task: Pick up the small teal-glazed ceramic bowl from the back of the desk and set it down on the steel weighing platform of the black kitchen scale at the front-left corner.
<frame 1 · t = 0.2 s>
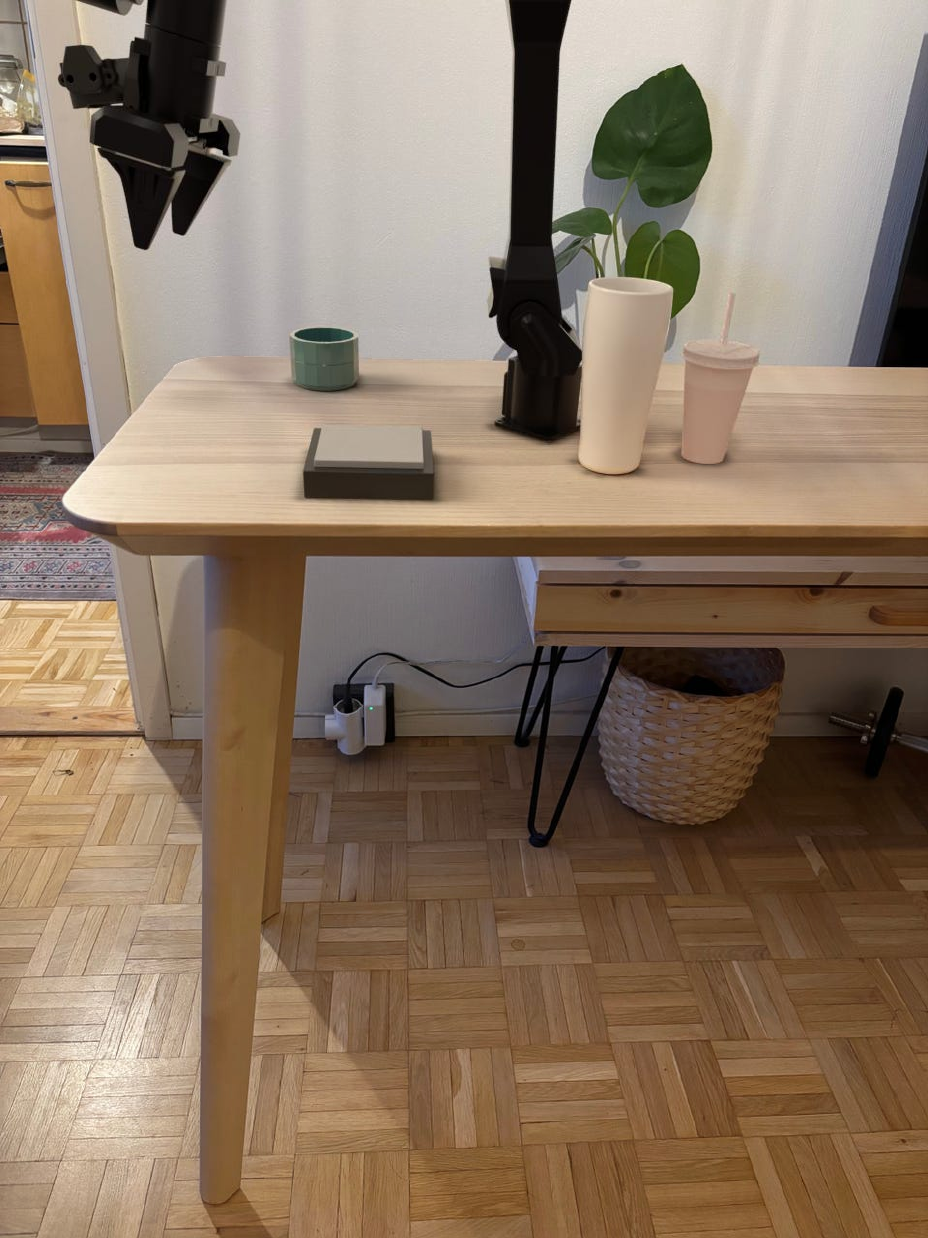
hand: (160, 240, 80), 15 cm above the table, tool pointing down, fingers open, 9 cm apart
smoothie: (701, 458, 83), on the table
scale: (371, 474, 76), on the table
white tumbler: (607, 467, 80), on the table
bowl: (325, 382, 98), on the table
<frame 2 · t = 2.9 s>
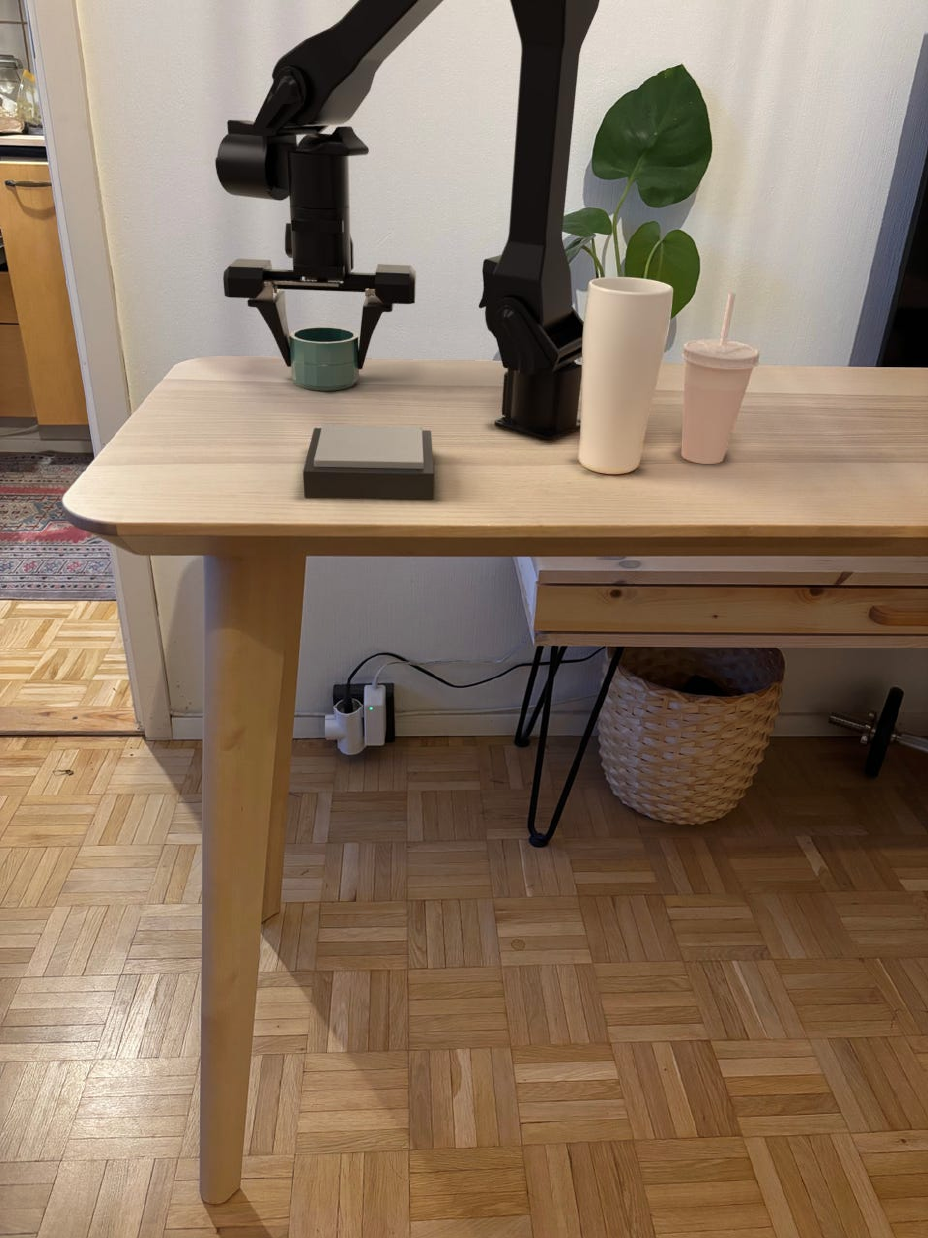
hand: (325, 366, 97), 2 cm above the table, tool pointing down, fingers closed on bowl, 7 cm apart
bowl: (325, 382, 98), on the table, touching gripper
everything else where it was.
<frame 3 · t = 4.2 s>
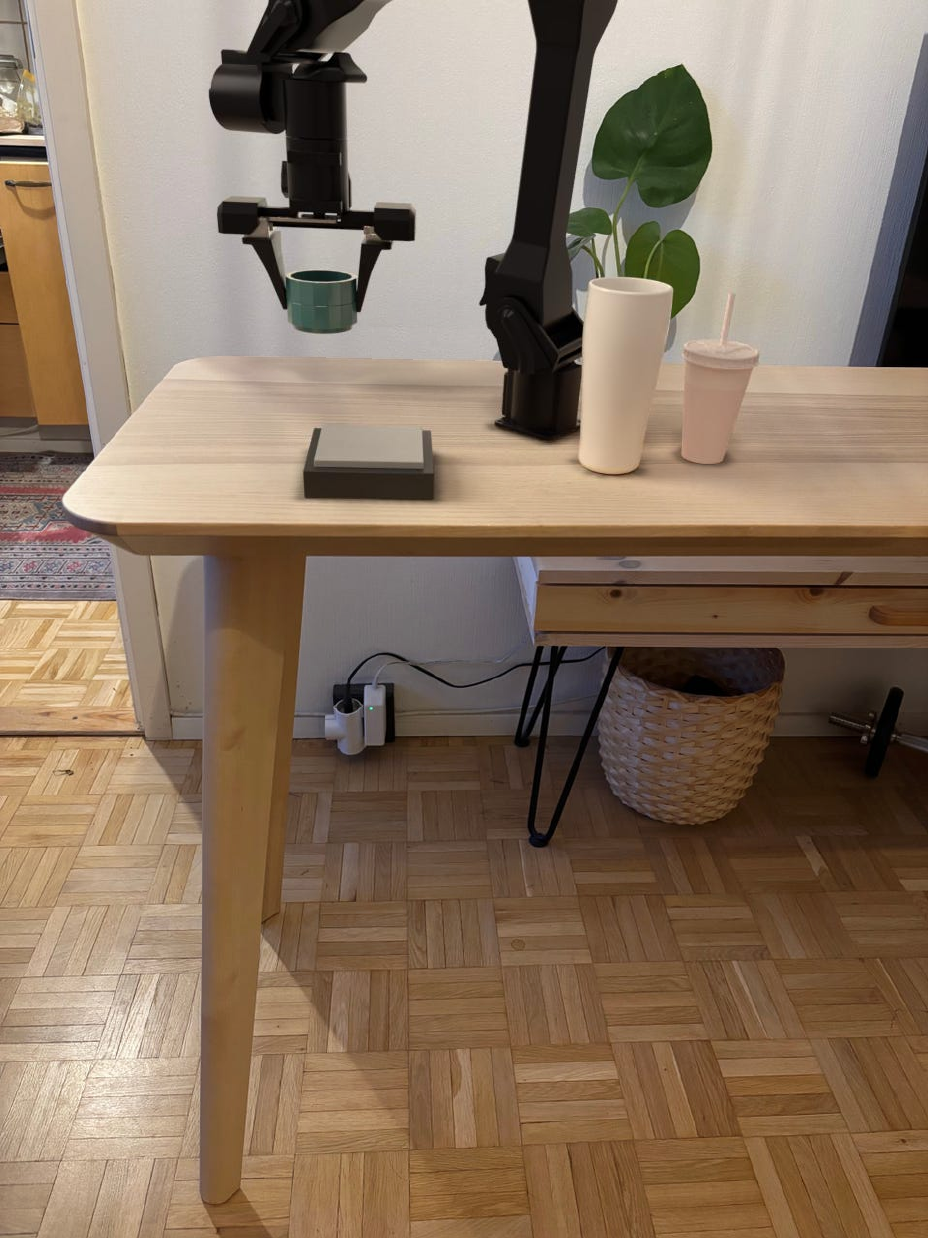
hand: (322, 310, 94), 7 cm above the table, tool pointing down, fingers closed on bowl, 7 cm apart
bowl: (323, 326, 95), point 6 cm above the table, touching gripper
everything else where it was.
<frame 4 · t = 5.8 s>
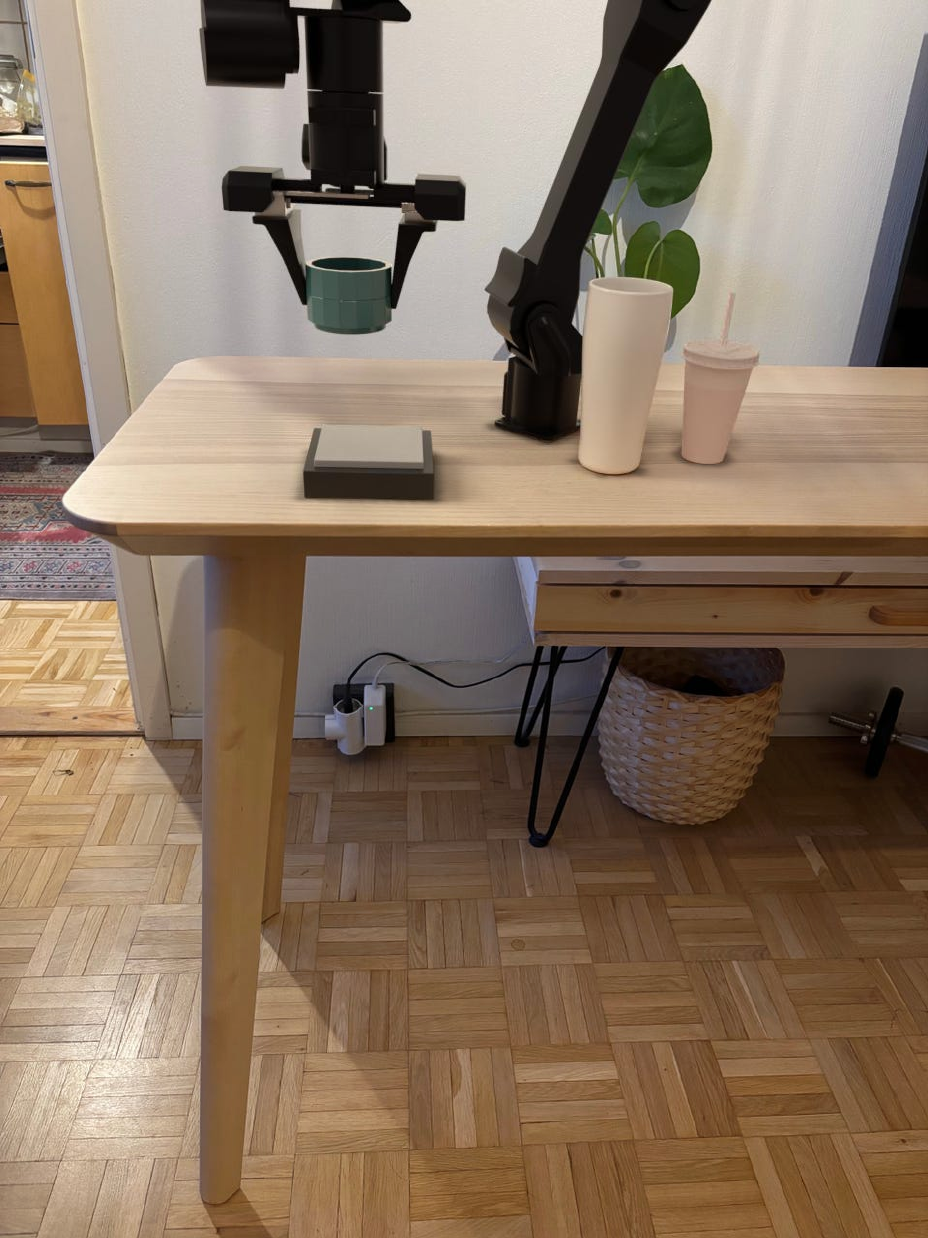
hand: (350, 306, 77), 12 cm above the table, tool pointing down, fingers closed on bowl, 7 cm apart
bowl: (350, 325, 78), point 10 cm above the table, touching gripper
everything else where it was.
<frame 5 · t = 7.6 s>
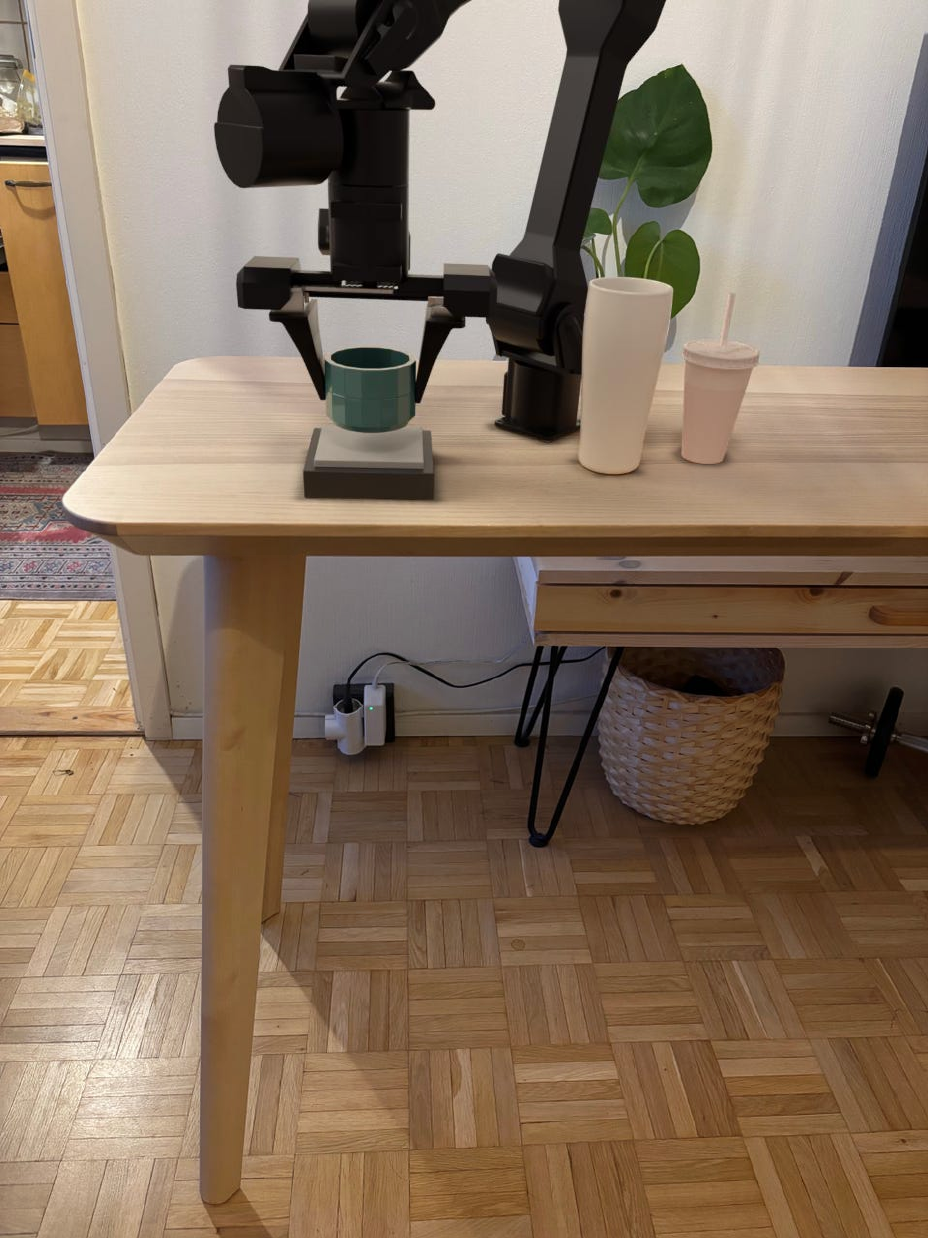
hand: (371, 400, 73), 6 cm above the table, tool pointing down, fingers closed on bowl, 7 cm apart
bowl: (371, 420, 74), point 5 cm above the table, touching gripper
everything else where it was.
when the fingers open (4 cm above the table, at t = 8.8 s): bowl stays where it is, resting on scale.
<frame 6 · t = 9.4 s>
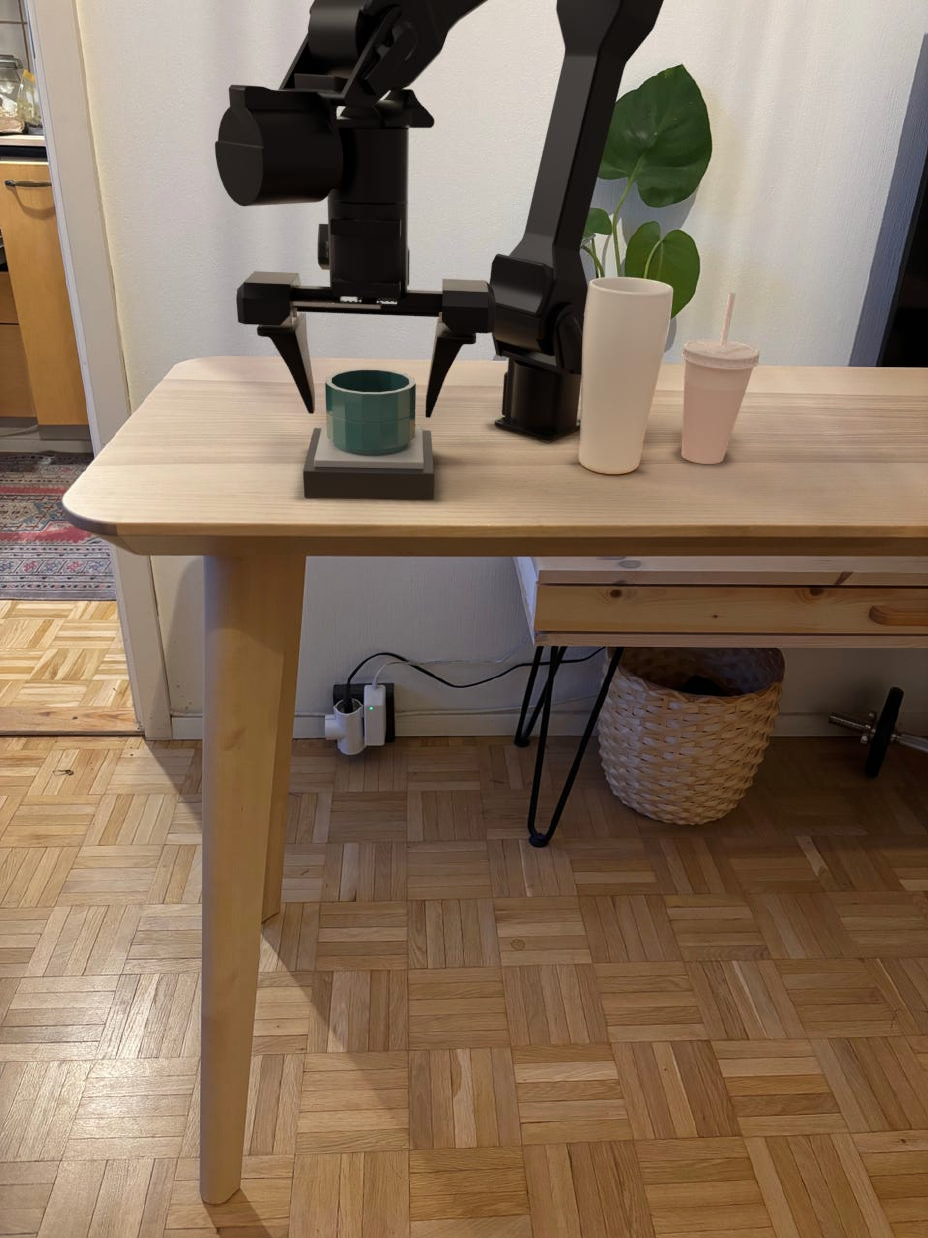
hand: (370, 414, 73), 5 cm above the table, tool pointing down, fingers open, 9 cm apart
bowl: (371, 441, 74), point 3 cm above the table, touching scale
everything else where it was.
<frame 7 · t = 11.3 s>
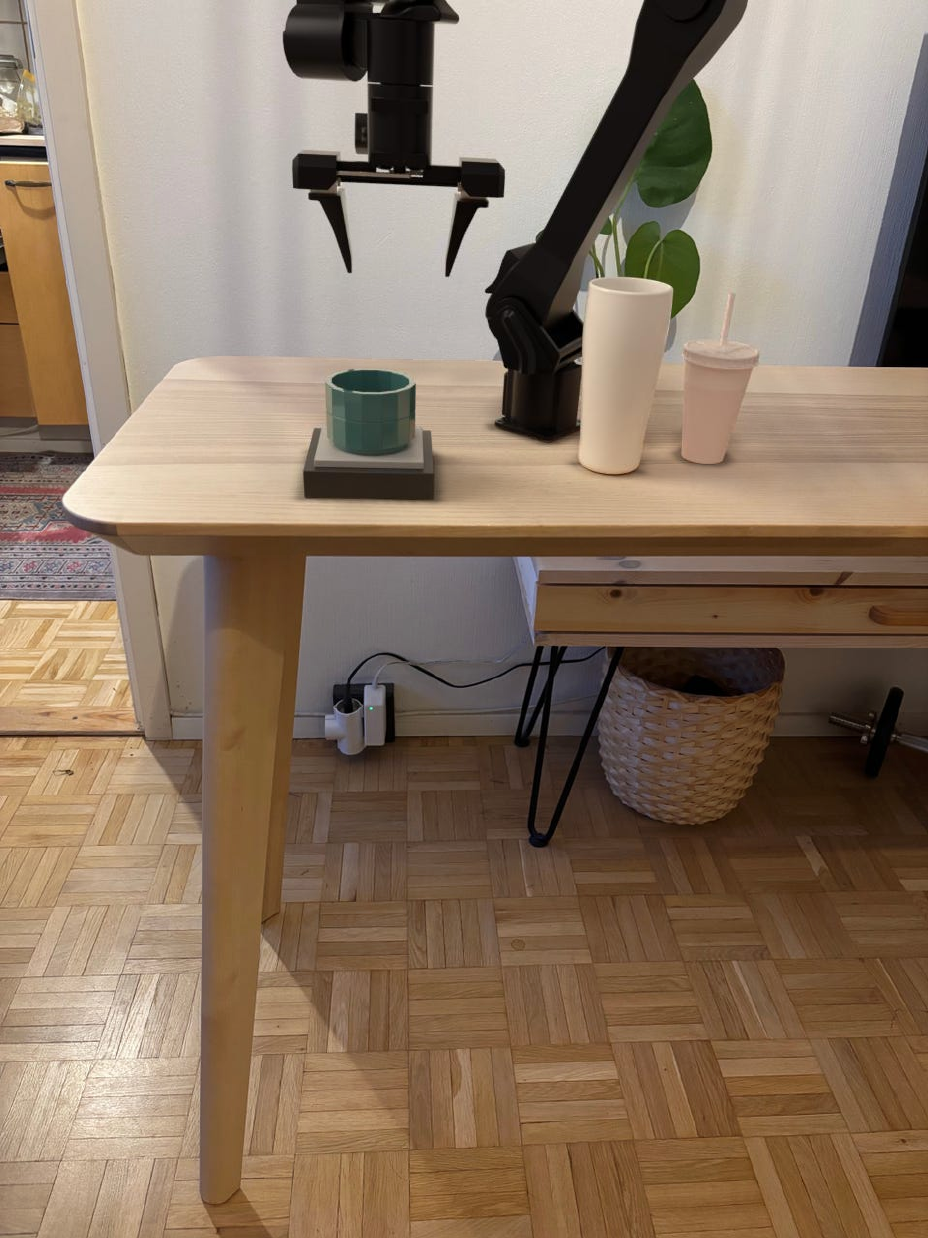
hand: (398, 274, 88), 12 cm above the table, tool pointing down, fingers open, 9 cm apart
nothing on the table moved.
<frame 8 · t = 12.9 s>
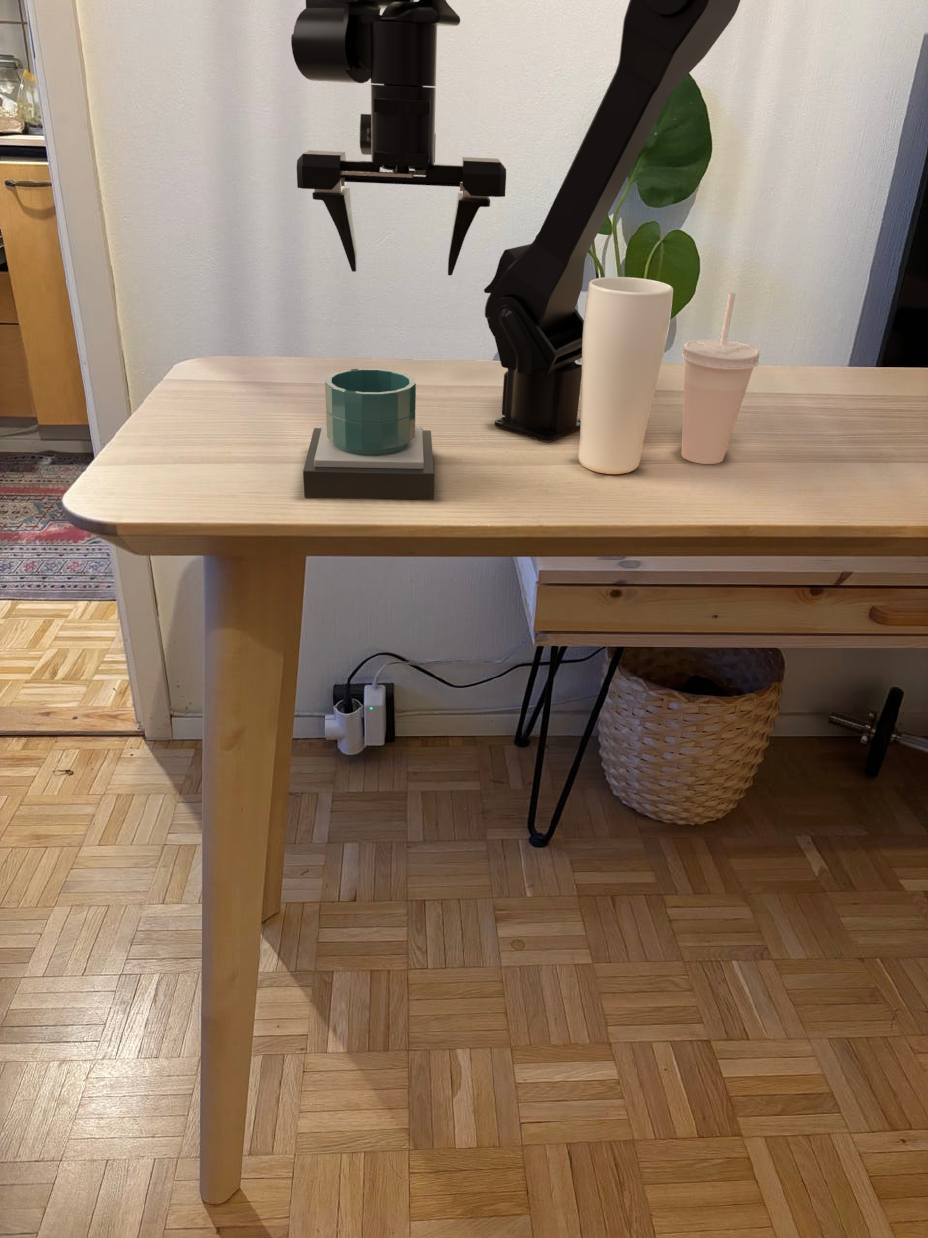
hand: (402, 272, 89), 12 cm above the table, tool pointing down, fingers open, 9 cm apart
nothing on the table moved.
at the end: bowl 0.0 cm off-centre on the scale, point 2.8 cm above the scale's base; bowl tilted 0°; the gripper is holding nothing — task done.
